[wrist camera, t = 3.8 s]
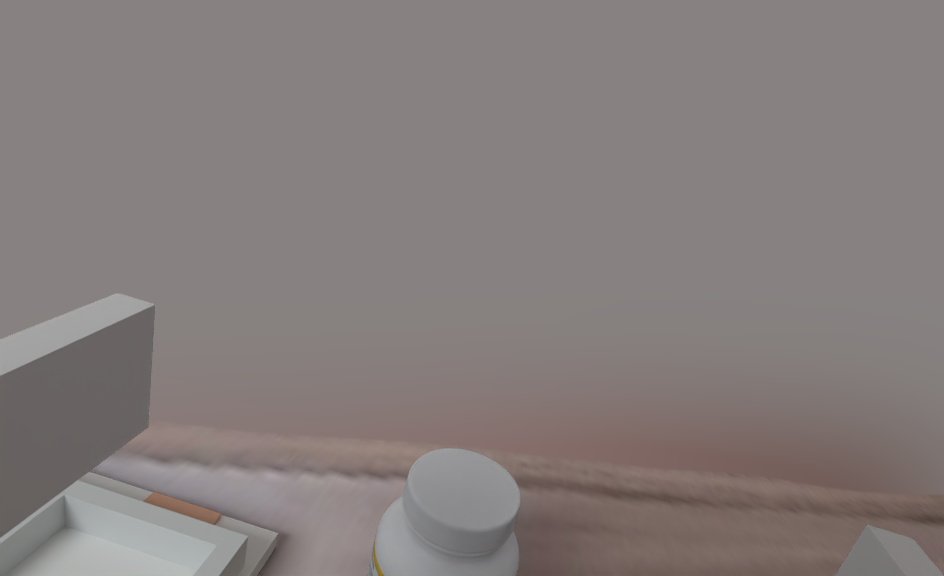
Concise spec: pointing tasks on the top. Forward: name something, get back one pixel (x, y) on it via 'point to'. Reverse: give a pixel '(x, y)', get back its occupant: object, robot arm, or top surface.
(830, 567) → the top surface
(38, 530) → the socket board
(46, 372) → the robot arm
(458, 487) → the pill bottle
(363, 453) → the top surface
